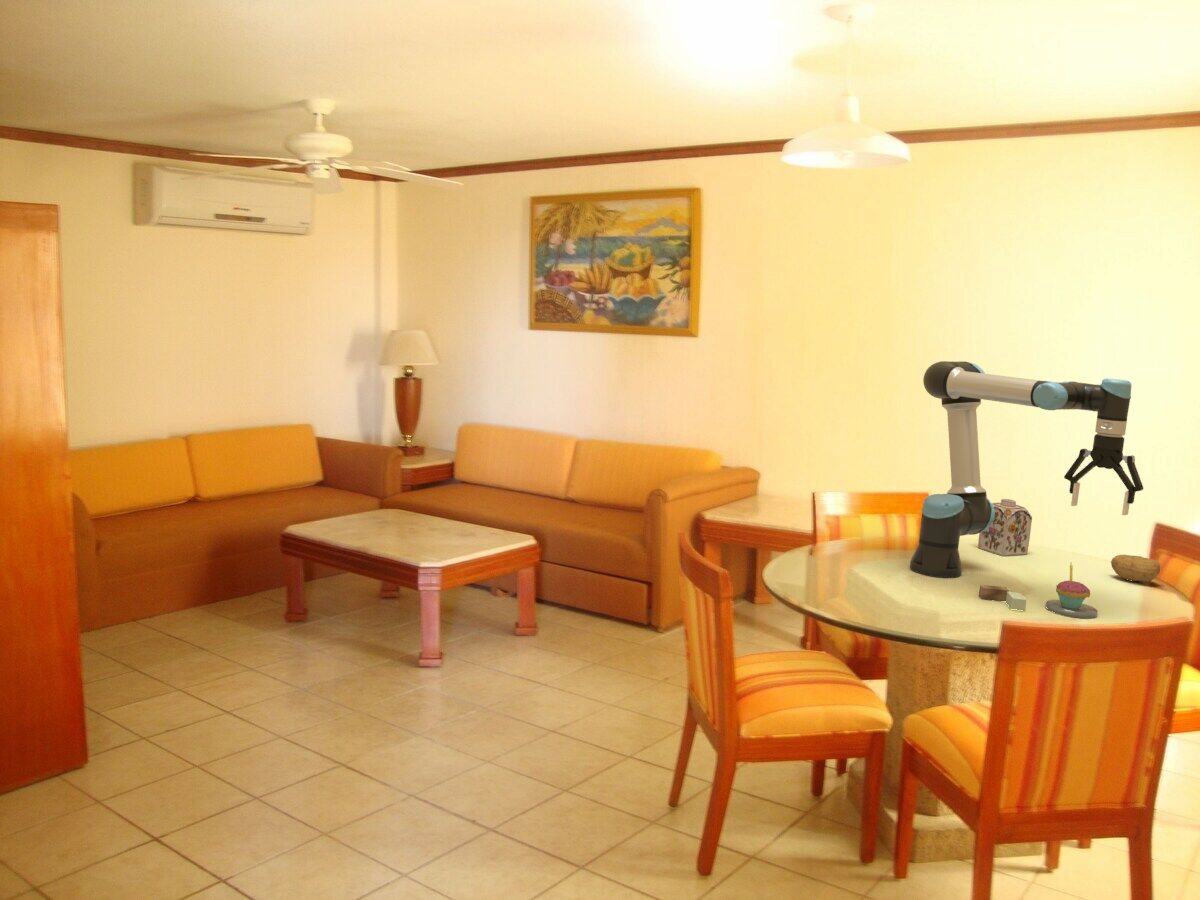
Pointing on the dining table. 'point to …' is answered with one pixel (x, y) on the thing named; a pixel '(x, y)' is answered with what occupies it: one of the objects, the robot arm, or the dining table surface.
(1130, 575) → the potato
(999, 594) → the walnut brick
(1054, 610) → the plate
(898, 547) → the dining table surface
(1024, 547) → the decorative jar
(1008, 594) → the sage brick
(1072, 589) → the cupcake
